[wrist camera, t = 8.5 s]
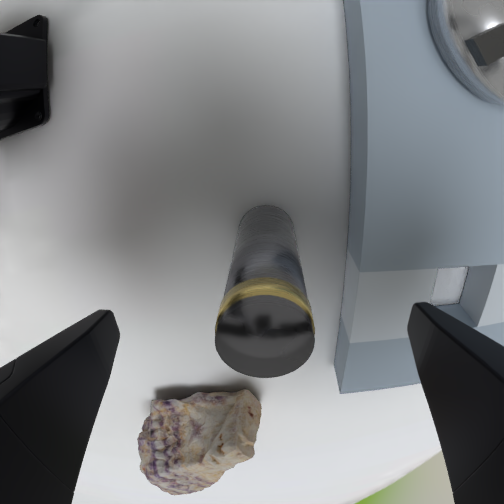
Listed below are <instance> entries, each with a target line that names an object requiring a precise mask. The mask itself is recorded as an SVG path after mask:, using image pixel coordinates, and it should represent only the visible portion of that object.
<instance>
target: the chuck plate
mask: <svg viewBox="0 0 504 504" xmlns="http://www.w3.org/2000/svg"><path fill="white" fill-rule="evenodd" d="M343 1H344V10H345V20H346V30H347V42H348V56H349V73H350V96H351V187H350V212H349V230H348V245H347V258H346V270H345V281H344V291H343V300H342V309H341V318H340V326H339V333H338V341H337V348H336V355H335V361H334V367H335V372H336V376H337V381H338V386H339V391H340V394H344V393H354V392H363V391H372V390H380V389H387V388H394V387H400V386H407V385H413V384H418V383H421V381H420V378H419V375H418V372H417V368H416V364H415V360H414V356H413V352H412V348H411V344H410V340H409V336H408V332H407V325H408V321H409V317H410V313H411V309H412V306H413V304H414V303H417V302H428V303H430V301H431V297H432V293H433V289H434V285H435V280H436V276H437V271H438V268H453V267H469V270H468V274H467V278H466V282H465V285H464V289H463V293H462V296H461V299H460V303H459V304H451V305H442V306H435V307H437V308H438V309H440V310H442V311H444V312H446V313H447V314H449V315H451V316H453V317H454V318H456V319H458V320H460V321H461V322H463V323H465V324H467V325H468V326H470V327H472V328H474V329H475V330H477V331H479V332H480V333H482V334H484V335H486V336H487V337H489V338H491V339H492V340H494V341H496V342H497V343H499V344H501V345H502V346H504V105H497V104H493V103H489V102H487V101H485V100H483V99H481V98H479V97H478V96H476V95H475V94H474V93H472V92H471V91H470V90H469V89H468V88H466V87H465V86H464V85H463V84H462V83H461V81H460V80H459V79H458V78H457V77H456V76H455V74H454V73H453V72H452V70H451V69H450V68H449V66H448V64H447V63H446V61H445V60H444V58H443V56H442V54H441V52H440V50H439V48H438V46H437V44H436V41H435V39H434V36H433V33H432V29H431V25H430V21H429V13H428V2H429V0H343Z"/></svg>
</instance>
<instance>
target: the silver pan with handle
mask: <svg viewBox="0 0 504 504" xmlns="http://www.w3.org/2000/svg"><path fill="white" fill-rule="evenodd" d="M428 13H429V21H430V25H431V29H432V33H433V36H434V39H435V41H436V44H437V46H438V48H439V50H440V52H441V54H442V56H443V58H444V60H445V61H446V63H447V64H448V66H449V68H450V69H451V70H452V72H453V73H454V74H455V76H456V77H457V78H458V79H459V80H460V81H461V83H462V84H463V85H464V86H465V87H466V88H468V89H469V90H470V91H471V92H472V93H474V94H475V95H476V96H478V97H479V98H481V99H483V100H485V101H487V102H489V103H493V104H497V105H504V0H429V2H428Z"/></svg>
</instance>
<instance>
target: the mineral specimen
mask: <svg viewBox="0 0 504 504" xmlns="http://www.w3.org/2000/svg"><path fill="white" fill-rule="evenodd" d="M261 409H262V408H261V404H260V402H259V401H258V400H257V399H256V397H255V396H254V395H253V394H252V393H251V392H250V391H249V390H247V389H242V390H240V391H238V392H232V393H231V392H211V393H203V392H197V393H195V394H193V395H191V396H190V397H188V398H185V399H181V400H176V399H169V400H166V401H165V400H161V399H157V400H152V402H151V414H150V416H149V417H147V418H146V420H145V421H144V424H143V427H142V430H143V432H141V433H140V434H139V437H138V439H137V440H138V445H139V447H138V450H139V455H140V458H141V465H140V470H141V472H142V473H144V474H145V476H146V477H147V480H149V481H150V483H151V484H153V485H156V486H157V487H159V488H160V489H161V490H162V491H164V492H168V493H169V494H171V495H180V494H190V493H193V492H197V491H202V490H203V489H204V488H207V487H210V486H211V485H212V484H214V483H215V482H217V481H218V480H219V479H220V477H221V476H222V475H223V474H224V472H225V471H226V470H228V469H230V468H234V466H235V465H236V464H237V463H241V462H244V461H246V460H248V459H250V458H252V457H253V456H254V454H255V453H254V447H253V446H254V443H255V442H256V434H257V431H258V428H259V424H260V418H261Z"/></svg>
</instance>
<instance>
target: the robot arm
mask: <svg viewBox="0 0 504 504" xmlns="http://www.w3.org/2000/svg"><path fill="white" fill-rule="evenodd" d="M39 21H40V23H39V25H38V22H39ZM37 25H38V26H37ZM40 113H41V115H42V117H41V119H40V118H39V114H40ZM48 119H49V103H48V88H47V18H46V17H45V16H42V15H37V16H35V17H33V18H31V19H29V20H27V21H26V22H24V23H22V24H20V25H18V26H16V27H15V28H13V29H11V30H9V31H8V32H6V33H0V140H1V139H4V138H6V137H9V136H12V135H14V134H17V133H20V132H23V131H26V130H29V129H32V128H35V127H38V126H41V125H44V124H45V123H46V122H47V121H48ZM407 332H408V336H409V340H410V344H411V348H412V352H413V356H414V360H415V364H416V368H417V372H418V375H419V378H420V381H421V384H422V387H423V390H424V393H425V396H426V399H427V402H428V405H429V408H430V411H431V414H432V418H433V421H434V424H435V427H436V431H437V434H438V437H439V441H440V444H441V448H442V452H443V455H444V459H445V463H446V467H447V471H448V475H449V479H450V483H451V488H452V492H453V497H454V502H455V504H504V346H502V345H501V344H499V343H497V342H496V341H494V340H492V339H491V338H489V337H487V336H486V335H484V334H482V333H480V332H479V331H477V330H475V329H474V328H472V327H470V326H468V325H467V324H465V323H463V322H461V321H460V320H458V319H456V318H454V317H453V316H451V315H449V314H447V313H446V312H444V311H442V310H440V309H438V308H437V307H435V306H433V305H431V304H430V303H428V302H417V303H414V304H413V306H412V309H411V313H410V317H409V321H408V325H407ZM119 339H120V332H119V328H118V326H117V323H116V320H115V317H114V314H113V312H112V311H111V310H98V311H96V312H94V313H92V314H91V315H89V316H87V317H86V318H84V319H82V320H80V321H79V322H77V323H75V324H73V325H72V326H70V327H68V328H67V329H65V330H63V331H61V332H60V333H58V334H56V335H55V336H53V337H51V338H50V339H48V340H46V341H44V342H43V343H41V344H39V345H38V346H36V347H34V348H33V349H31V350H29V351H28V352H26V353H24V354H23V355H21V356H19V357H18V358H17V359H14V360H13V361H11V362H9V363H8V364H6V365H4V366H2V367H1V368H0V504H71V503H72V499H73V495H74V491H75V487H76V483H77V479H78V476H79V472H80V468H81V465H82V461H83V458H84V454H85V451H86V448H87V444H88V441H89V438H90V435H91V432H92V428H93V425H94V422H95V419H96V416H97V413H98V410H99V407H100V404H101V401H102V398H103V396H104V393H105V390H106V387H107V384H108V381H109V378H110V374H111V371H112V366H113V362H114V358H115V354H116V351H117V347H118V343H119Z"/></svg>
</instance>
